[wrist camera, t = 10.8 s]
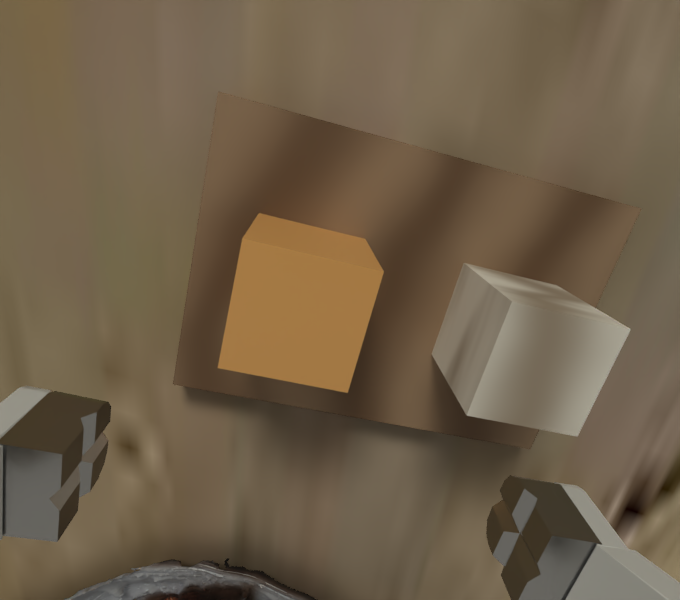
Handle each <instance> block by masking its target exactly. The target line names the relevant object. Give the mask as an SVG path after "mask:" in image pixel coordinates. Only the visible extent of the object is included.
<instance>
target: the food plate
mask: <svg viewBox="0 0 680 600" xmlns="http://www.w3.org/2000/svg"><path fill="white" fill-rule="evenodd" d="M228 560H229V559H226V560H225V561H224V562H225V564H224V565H225V566H226V568H227V570H220V568H219V564H218V563H214V562H213V561H208V560H206V561H202V562H200V563H198V564H195V566H191V567H185V566H181V561H176V560H168V561H163V562H160V563H154V564H151V565H150V566H145V567H141V568H132V570H134V572H133V573H125V574H122V575H120V576H117V577H116V578H114V579H109V580H108V581H106V582H102V583H98V584H96V585H94V586H91V587H88V588H84V589H83V590H79V591H78V592H77V593H76V594H75V595H73V596H72V597H70V598H68V599H67V598H65V599H64V600H134V599H136V598H137V599H136V600H316V599H314V598H313V597H311V596H309V595H308V594H305V593H302V592H299V591H296V590H295V589H290V587H287V586H285V585H284V584H281V583H279V582H278V581H275V580H274V578H271V577H270V576H268V575H266V574H265V573H264V572H263V571H261V572H260V571H256V570H254V571H253V570H252V571H249V570H246V568H245V567H243V566H242V567H237V566H236V567H234V566H231V567H229V565H228V563H227V561H228ZM136 569H139V571H135V570H136Z"/></svg>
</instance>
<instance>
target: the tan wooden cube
mask: <svg viewBox="0 0 680 600" xmlns="http://www.w3.org/2000/svg"><path fill="white" fill-rule="evenodd" d="M383 273H384V271H383V269H382V267H381V266H380V264H379V262H378V260H377V259H376V257H375V255H374V253H373V252H372V250H371V248H370V246H369V244H368V243H367V241H366V239H363V238H359V237H355V236H351V235H347V234H343V233H339V232H335V231H331V230H327V229H322V228H318V227H314V226H310V225H306V224H302V223H298V222H294V221H290V220H286V219H281V218H277V217H273V216H269V215H265V214H261V213H259V214H258V215H257V217H256V218H255V220H254V221H253V223H252V224H251V226H250V227H249V229H248V230H247V232H246V234H245V235H244V237H243V238H242V243H241V248H240V253H239V258H238V264H237V269H236V274H235V279H234V285H233V290H232V295H231V300H230V305H229V311H228V316H227V321H226V326H225V332H224V337H223V342H222V347H221V353H220V358H219V363H218V368H220V369H225V370H231V371H236V372H241V373H246V374H251V375H257V376H262V377H267V378H272V379H278V380H283V381H288V382H293V383H298V384H304V385H309V386H314V387H319V388H325V389H330V390H335V391H340V392H345V393H348V390H349V387H350V384H351V380H352V377H353V374H354V370H355V367H356V363H357V360H358V357H359V353H360V350H361V347H362V343H363V340H364V337H365V333H366V330H367V327H368V323H369V320H370V317H371V313H372V310H373V307H374V303H375V300H376V297H377V293H378V290H379V287H380V283H381V280H382V276H383Z"/></svg>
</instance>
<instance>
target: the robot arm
mask: <svg viewBox="0 0 680 600" xmlns="http://www.w3.org/2000/svg"><path fill="white" fill-rule="evenodd" d="M110 416H111V406H110V404H109V402H106V401H102V400H97V399H92V398H87V397H82V396H77V395H72V394H67V393H62V392H57V391H51V390H47V389H41V388H36V387H30V386H24V387H20V388H18V389H17V390H15V391H14V392H13V393H12V394H11V395H9V396H8V397H7V398H6V399H5V400H3V401H2V402H1V403H0V540H1V539H2V537H3V536H11V537H20V538H28V539H37V540H46V541H55V542H58V540H59V539H60V537H61V536H62V534H63V533H64V531H65V529H66V528H67V526H68V525H69V523H70V522H71V520H72V519H73V517H74V516H75V514H76V513H77V511H78V502H79V497H81V496H83V495H85V494H86V493H88V492H90V491H91V489H92V488H93V486H94V484H95V483H96V481H97V480H98V477H99V475H100V473H101V470H102V468H103V465H104V462H105V458H106V454H107V448H108V439H107V438H106V436H105V435H104V433H103V430H104V429H105V428H106V426H107V425H108V424H109V422H110ZM500 492H501V495H502V498H503V500H501V501H500V502H498V503H497V504H495V505H494V506H493V507H492V509H491V511H490V514H489V516H488V519H487V531H486V534H487V539H488V544H489V547H490V550H491V552H492V555H493V556H494V557H495V558H496V559H497V560H498V561H499V562H500V563H501V564H502V565H503V566H504V567H503V570H502V573H501V577H502V579H503V581H504V584H505V586H506V588H507V591H508V593H509V596H510V598H511V600H680V583H679V582H678V581H677V580H675V579H674V578H672V577H671V576H670V575H668V574H667V573H666V572H664V571H663V570H661V569H660V568H659V567H657V566H656V565H655V564H653V563H652V562H651V561H649V560H648V559H646V558H645V557H644V556H642V555H641V554H640V553H638V552H637V551H635V550H629V549H628V548H627V547H626V545H625V544H624V543H623V541H622V540H621V539H620V537H619V536H618V535H617V533H616V532H615V531H614V529H613V528H612V527H611V525H610V524H609V523H608V521H607V520H606V519H605V517H604V516H603V515H602V513H601V512H600V511H599V509H598V508H597V507H596V505H595V504H594V503H593V501H592V500H591V499H590V497H589V496H588V495H587V493H586V492H585V491H584V490H583V489H581V488H580V487H578V486H576V485H569V484H563V483H556V482H555V483H551V482H545V481H540V480H534V479H528V478H522V477H517V476H511V475H510V476H509V477H508V478H507V479H506V480H505V481H504V483H503V485H502V487H501V489H500Z"/></svg>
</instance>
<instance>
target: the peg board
mask: <svg viewBox="0 0 680 600" xmlns="http://www.w3.org/2000/svg"><path fill="white" fill-rule="evenodd" d="M640 211H641V208H637V207H633V206H630V205H626V204H623V203H619V202H615V201H612V200H608V199H604V198H601V197H597V196H594V195H590V194H586V193H583V192H579V191H576V190H572V189H568V188H565V187H561V186H558V185H554V184H550V183H547V182H543V181H539V180H536V179H532V178H529V177H525V176H521V175H518V174H514V173H511V172H507V171H503V170H500V169H496V168H492V167H489V166H485V165H482V164H478V163H474V162H471V161H467V160H464V159H460V158H456V157H453V156H449V155H446V154H442V153H438V152H435V151H431V150H427V149H424V148H420V147H417V146H413V145H409V144H406V143H402V142H399V141H395V140H391V139H388V138H384V137H381V136H377V135H373V134H370V133H366V132H362V131H359V130H355V129H352V128H348V127H344V126H341V125H337V124H334V123H330V122H326V121H323V120H319V119H315V118H312V117H308V116H305V115H301V114H297V113H294V112H290V111H287V110H283V109H279V108H276V107H272V106H269V105H265V104H261V103H258V102H254V101H250V100H247V99H243V98H240V97H236V96H232V95H229V94H225V93H222V92H218V96H217V103H216V109H215V116H214V122H213V129H212V135H211V141H210V148H209V154H208V161H207V167H206V174H205V180H204V187H203V193H202V200H201V206H200V213H199V219H198V225H197V232H196V238H195V245H194V251H193V258H192V264H191V271H190V277H189V284H188V290H187V297H186V303H185V309H184V316H183V322H182V329H181V335H180V342H179V348H178V355H177V361H176V368H175V374H174V381H173V384H174V385H179V386H185V387H190V388H196V389H201V390H207V391H212V392H218V393H223V394H229V395H234V396H240V397H245V398H251V399H256V400H262V401H267V402H273V403H278V404H284V405H289V406H295V407H300V408H306V409H311V410H317V411H322V412H328V413H333V414H339V415H344V416H350V417H355V418H361V419H366V420H372V421H377V422H383V423H388V424H394V425H399V426H405V427H410V428H416V429H421V430H427V431H432V432H438V433H443V434H449V435H454V436H460V437H466V438H471V439H477V440H482V441H488V442H493V443H499V444H504V445H510V446H515V447H521V448H526V449H531V447H532V444H533V442H534V440H535V438H536V436H537V434H538V431H539V429H540V430H546V431H551V432H556V433H561V434H567V435H572V436H578V434H579V432H580V430H581V428H582V426H583V424H584V422H585V420H586V418H587V416H588V414H589V412H590V410H591V408H592V406H593V404H594V402H595V400H596V398H597V396H598V394H599V392H600V390H601V388H602V386H603V384H604V382H605V380H606V378H607V376H608V374H609V372H610V370H611V368H612V366H613V364H614V362H615V360H616V358H617V356H618V354H619V352H620V350H621V348H622V346H623V344H624V342H625V340H626V338H627V336H628V334H629V332H630V330H631V329H630V328H628V327H626V326H625V325H623V324H621V323H620V322H618V321H616V320H615V319H613V318H611V317H610V316H608V315H606V314H604V313H603V312H601V311H599V310H598V309H596V306H597V304H598V302H599V300H600V298H601V296H602V293H603V291H604V289H605V287H606V285H607V283H608V280H609V278H610V276H611V274H612V272H613V270H614V267H615V265H616V263H617V261H618V259H619V257H620V255H621V252H622V250H623V248H624V246H625V244H626V242H627V239H628V237H629V235H630V233H631V231H632V229H633V226H634V224H635V222H636V220H637V218H638V216H639V214H640ZM259 213H261V214H265V215H269V216H273V217H277V218H281V219H286V220H290V221H294V222H298V223H302V224H306V225H310V226H314V227H318V228H322V229H327V230H331V231H335V232H339V233H343V234H347V235H351V236H355V237H359V238H363V239H366V241H367V243H368V244H369V246H370V248H371V250H372V252H373V253H374V255H375V257H376V259H377V260H378V262H379V264H380V266H381V267H382V269H383V271H384V273H383V276H382V280H381V283H380V287H379V290H378V293H377V297H376V300H375V303H374V307H373V310H372V313H371V317H370V320H369V323H368V327H367V330H366V333H365V337H364V340H363V343H362V347H361V350H360V353H359V357H358V360H357V363H356V367H355V370H354V374H353V377H352V380H351V384H350V387H349V390H348V393H345V392H340V391H335V390H330V389H325V388H319V387H314V386H309V385H304V384H298V383H293V382H288V381H283V380H278V379H272V378H267V377H262V376H257V375H251V374H246V373H241V372H236V371H231V370H225V369H220V368H218V363H219V358H220V353H221V347H222V342H223V337H224V332H225V326H226V321H227V316H228V311H229V305H230V300H231V295H232V290H233V285H234V279H235V274H236V269H237V264H238V258H239V253H240V248H241V243H242V238H243V237H244V235H245V234H246V232H247V230H248V229H249V227H250V226H251V224H252V223H253V221H254V220H255V218H256V217H257V215H258V214H259Z"/></svg>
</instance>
